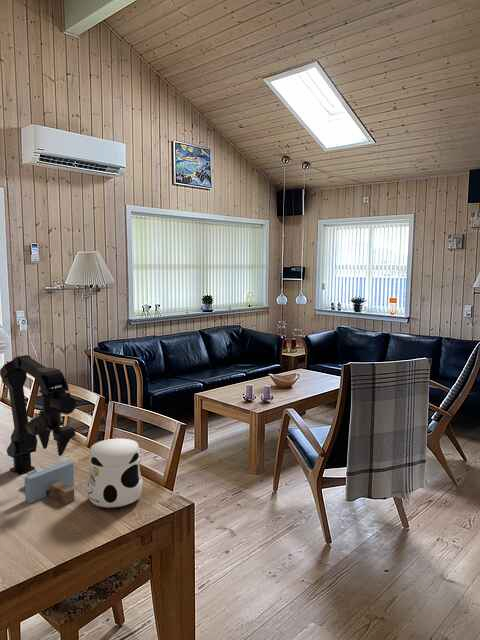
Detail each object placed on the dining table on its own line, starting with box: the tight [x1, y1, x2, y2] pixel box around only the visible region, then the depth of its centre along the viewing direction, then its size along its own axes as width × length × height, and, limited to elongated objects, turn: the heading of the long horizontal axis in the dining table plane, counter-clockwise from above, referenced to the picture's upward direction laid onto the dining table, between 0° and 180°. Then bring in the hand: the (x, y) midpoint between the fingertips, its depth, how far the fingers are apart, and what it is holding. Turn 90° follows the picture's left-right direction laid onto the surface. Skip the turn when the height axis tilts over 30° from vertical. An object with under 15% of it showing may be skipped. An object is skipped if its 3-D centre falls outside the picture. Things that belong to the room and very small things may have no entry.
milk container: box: [87, 437, 144, 509], centre depth 160 cm, size 17×17×18 cm
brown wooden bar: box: [27, 470, 75, 505], centre depth 165 cm, size 22×3×4 cm, turn 54°
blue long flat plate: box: [24, 460, 75, 504], centre depth 165 cm, size 3×16×8 cm, turn 143°
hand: (52, 452), depth 168 cm, fingers open, 9 cm apart
